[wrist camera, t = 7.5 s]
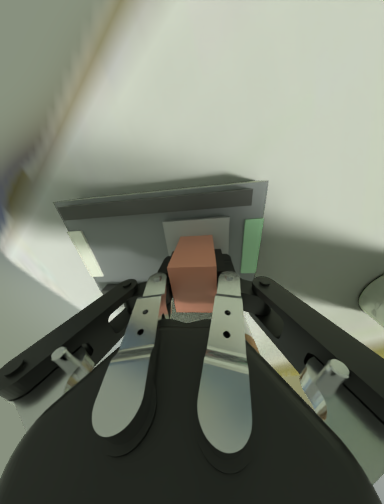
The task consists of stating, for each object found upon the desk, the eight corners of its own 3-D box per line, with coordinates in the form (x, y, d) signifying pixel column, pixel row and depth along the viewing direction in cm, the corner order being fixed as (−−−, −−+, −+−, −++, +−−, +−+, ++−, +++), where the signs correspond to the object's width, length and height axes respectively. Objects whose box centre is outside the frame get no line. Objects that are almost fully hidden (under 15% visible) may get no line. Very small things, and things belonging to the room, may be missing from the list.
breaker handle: (228, 215, 12) (245, 241, 7) (226, 277, 15) (237, 326, 10) (164, 220, 13) (136, 246, 8) (175, 278, 16) (161, 324, 11)
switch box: (256, 180, 14) (275, 180, 10) (245, 276, 19) (255, 299, 15) (78, 198, 16) (40, 204, 12) (114, 279, 21) (95, 299, 18)
